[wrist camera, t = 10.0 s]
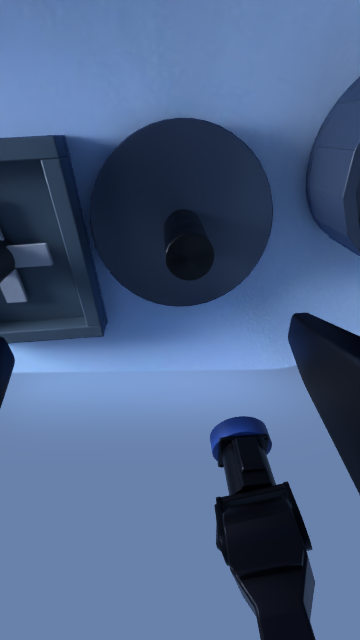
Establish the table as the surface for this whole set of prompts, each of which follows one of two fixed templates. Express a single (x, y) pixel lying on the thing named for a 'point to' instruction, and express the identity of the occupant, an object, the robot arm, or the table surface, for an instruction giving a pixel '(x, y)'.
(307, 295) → the table surface
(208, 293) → the lid
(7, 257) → the post with cross base
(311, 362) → the robot arm
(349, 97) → the round container
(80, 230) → the tray
